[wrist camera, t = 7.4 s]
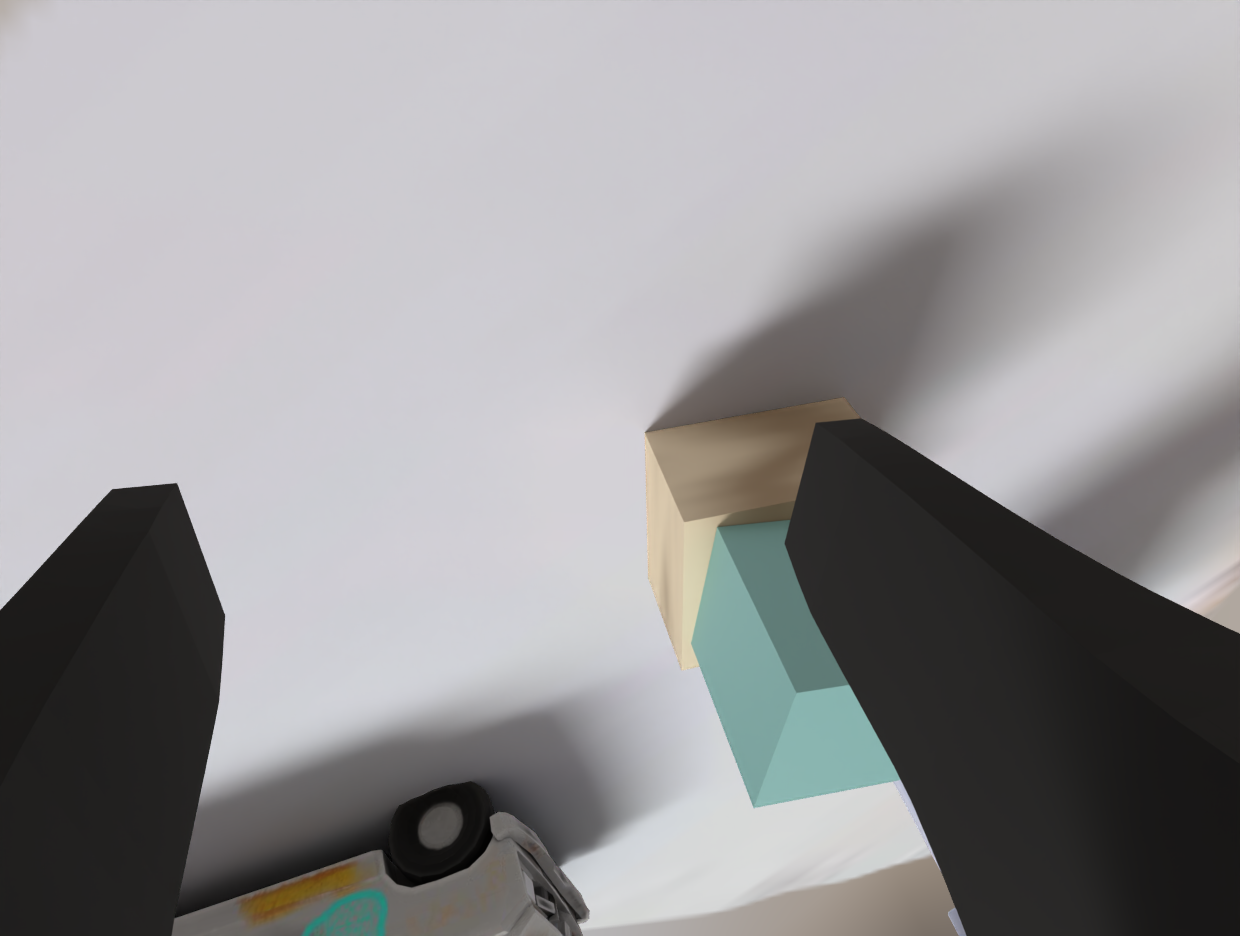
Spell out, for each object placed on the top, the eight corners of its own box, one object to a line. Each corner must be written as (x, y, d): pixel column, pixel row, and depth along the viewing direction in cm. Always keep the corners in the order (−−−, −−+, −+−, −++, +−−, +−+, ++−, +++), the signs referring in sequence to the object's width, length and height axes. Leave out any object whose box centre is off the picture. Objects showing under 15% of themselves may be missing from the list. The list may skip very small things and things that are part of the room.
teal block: (878, 510, 21) (986, 663, 18) (834, 623, 24) (920, 776, 20) (716, 527, 20) (796, 693, 17) (691, 643, 23) (754, 808, 19)
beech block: (840, 392, 24) (908, 478, 21) (816, 537, 28) (871, 627, 25) (642, 427, 23) (684, 522, 20) (646, 573, 27) (681, 670, 24)
